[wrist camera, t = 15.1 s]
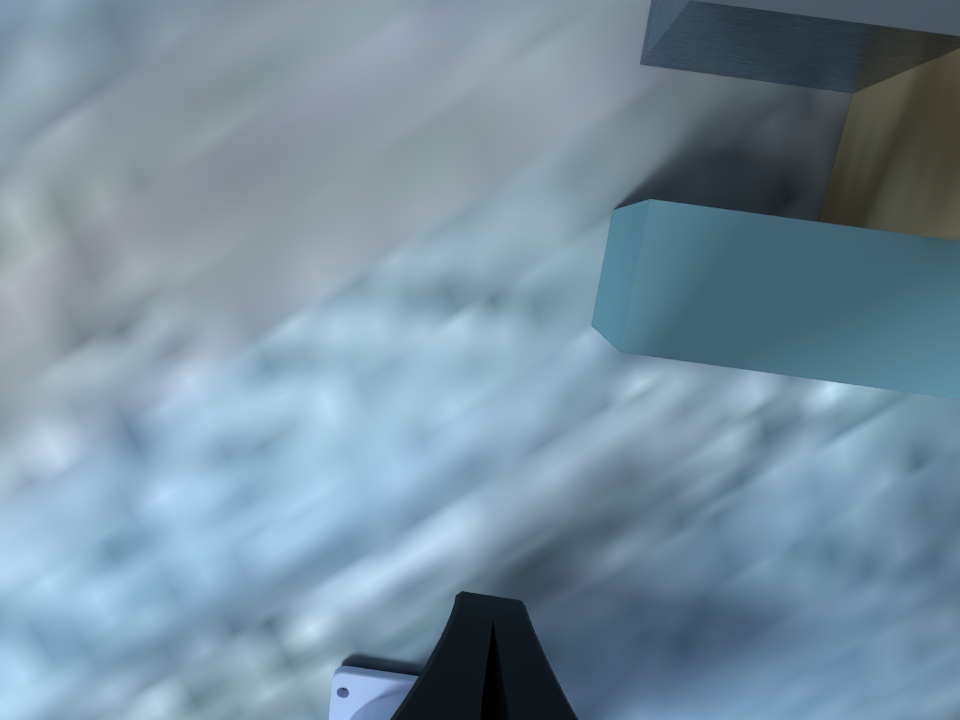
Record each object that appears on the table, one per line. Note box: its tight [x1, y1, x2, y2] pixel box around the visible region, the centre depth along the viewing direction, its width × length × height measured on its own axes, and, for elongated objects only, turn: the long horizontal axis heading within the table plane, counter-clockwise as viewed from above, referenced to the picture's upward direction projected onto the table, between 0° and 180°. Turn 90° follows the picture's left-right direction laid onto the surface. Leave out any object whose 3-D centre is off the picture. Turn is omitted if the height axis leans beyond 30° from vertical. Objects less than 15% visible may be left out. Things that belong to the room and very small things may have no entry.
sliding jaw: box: [592, 199, 960, 399], centre depth 16 cm, size 4×18×4 cm, turn 82°
